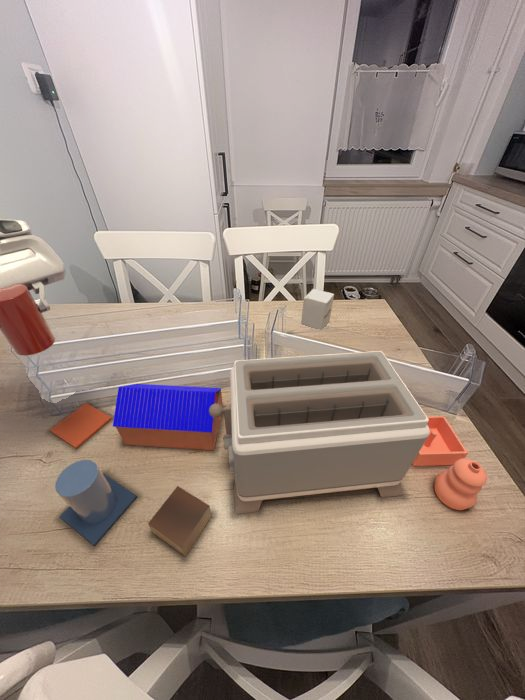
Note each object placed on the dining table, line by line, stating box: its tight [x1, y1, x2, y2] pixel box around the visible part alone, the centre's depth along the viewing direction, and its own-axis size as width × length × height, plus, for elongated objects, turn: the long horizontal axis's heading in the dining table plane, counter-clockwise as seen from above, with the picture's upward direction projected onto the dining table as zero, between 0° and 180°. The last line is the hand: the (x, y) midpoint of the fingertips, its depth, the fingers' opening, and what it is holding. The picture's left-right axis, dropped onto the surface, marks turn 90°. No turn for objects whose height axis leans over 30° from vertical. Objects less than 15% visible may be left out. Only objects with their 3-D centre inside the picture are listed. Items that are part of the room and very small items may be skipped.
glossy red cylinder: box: [0, 284, 56, 356], centre depth 47 cm, size 6×6×10 cm
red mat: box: [49, 402, 113, 449], centre depth 66 cm, size 9×9×1 cm
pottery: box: [411, 415, 488, 511], centre depth 56 cm, size 18×10×10 cm, turn 2°
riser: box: [147, 485, 213, 557], centre depth 49 cm, size 7×7×4 cm
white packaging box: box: [300, 288, 335, 330], centre depth 93 cm, size 7×7×13 cm
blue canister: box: [54, 459, 117, 524], centre depth 49 cm, size 6×6×10 cm
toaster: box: [209, 350, 430, 515], centre depth 54 cm, size 19×34×20 cm, turn 96°
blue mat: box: [59, 472, 138, 547], centre depth 52 cm, size 9×9×1 cm
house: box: [112, 383, 224, 451], centre depth 63 cm, size 12×20×12 cm, turn 86°
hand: (21, 319), depth 47 cm, fingers closed on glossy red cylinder, 6 cm apart
